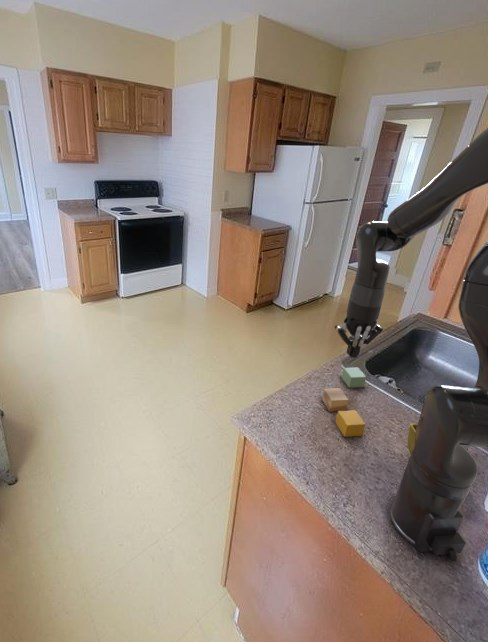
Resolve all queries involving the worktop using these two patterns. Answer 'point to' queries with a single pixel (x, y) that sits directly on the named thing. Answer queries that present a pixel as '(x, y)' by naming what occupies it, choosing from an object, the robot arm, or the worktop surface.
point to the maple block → (335, 399)
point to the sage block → (353, 377)
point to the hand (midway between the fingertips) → (352, 355)
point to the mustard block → (350, 423)
